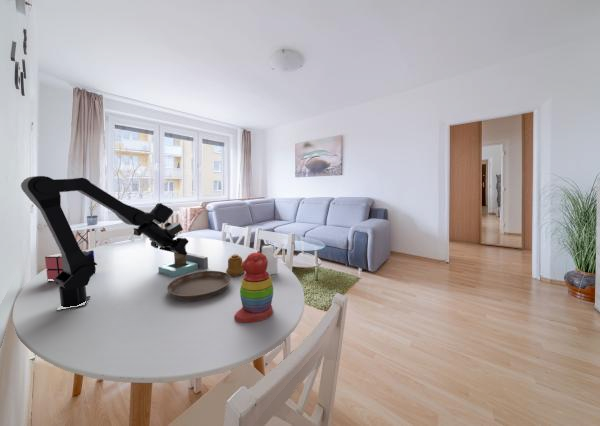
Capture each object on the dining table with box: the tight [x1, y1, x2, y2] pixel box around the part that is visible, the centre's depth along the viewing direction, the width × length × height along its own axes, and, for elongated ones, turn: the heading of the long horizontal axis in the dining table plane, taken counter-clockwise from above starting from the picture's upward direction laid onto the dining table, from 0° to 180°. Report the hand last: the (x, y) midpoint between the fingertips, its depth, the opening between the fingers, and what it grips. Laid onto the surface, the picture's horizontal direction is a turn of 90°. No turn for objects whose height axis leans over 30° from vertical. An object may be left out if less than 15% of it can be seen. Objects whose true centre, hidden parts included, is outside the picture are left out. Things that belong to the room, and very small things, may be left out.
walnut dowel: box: [173, 245, 187, 268], centre depth 100 cm, size 4×4×11 cm
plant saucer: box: [166, 270, 232, 301], centre depth 81 cm, size 21×21×3 cm
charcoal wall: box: [186, 252, 209, 270], centre depth 106 cm, size 2×16×5 cm, turn 60°
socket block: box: [157, 261, 199, 278], centre depth 100 cm, size 11×11×2 cm
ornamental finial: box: [225, 253, 245, 277], centre depth 97 cm, size 8×8×8 cm
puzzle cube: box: [44, 249, 96, 280], centre depth 92 cm, size 10×10×10 cm
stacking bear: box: [234, 250, 274, 323], centre depth 65 cm, size 11×10×18 cm
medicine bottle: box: [259, 243, 278, 276], centre depth 98 cm, size 7×7×12 cm
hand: (183, 253), depth 101 cm, fingers closed on walnut dowel, 4 cm apart
